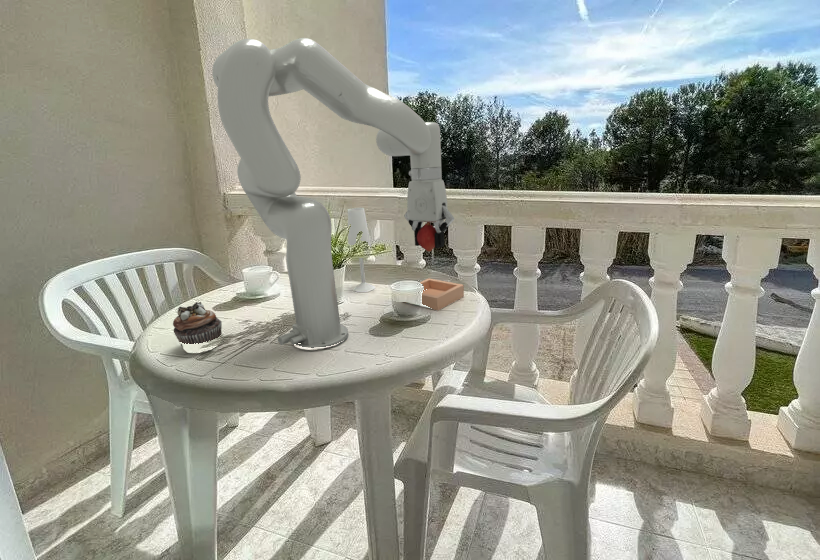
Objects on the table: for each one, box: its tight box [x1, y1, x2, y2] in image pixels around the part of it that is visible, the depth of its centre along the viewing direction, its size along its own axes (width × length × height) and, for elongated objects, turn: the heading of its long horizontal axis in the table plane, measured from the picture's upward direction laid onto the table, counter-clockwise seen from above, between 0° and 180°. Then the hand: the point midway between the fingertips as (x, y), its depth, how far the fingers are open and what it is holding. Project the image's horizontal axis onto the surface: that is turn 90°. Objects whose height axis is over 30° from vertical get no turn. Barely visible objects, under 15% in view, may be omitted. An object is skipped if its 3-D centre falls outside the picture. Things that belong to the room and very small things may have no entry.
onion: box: [417, 222, 437, 253], centre depth 109 cm, size 6×6×8 cm
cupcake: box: [172, 301, 223, 344], centre depth 94 cm, size 10×10×10 cm
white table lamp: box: [347, 207, 376, 293], centre depth 124 cm, size 7×7×24 cm
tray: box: [419, 278, 465, 312], centre depth 114 cm, size 12×12×3 cm
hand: (429, 245), depth 110 cm, fingers closed on onion, 5 cm apart
